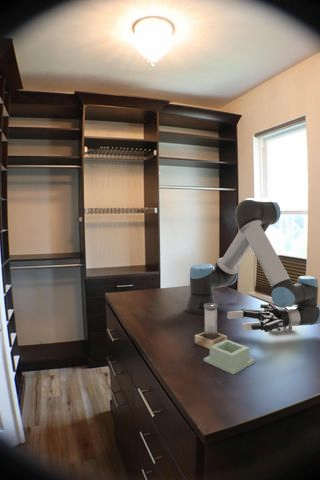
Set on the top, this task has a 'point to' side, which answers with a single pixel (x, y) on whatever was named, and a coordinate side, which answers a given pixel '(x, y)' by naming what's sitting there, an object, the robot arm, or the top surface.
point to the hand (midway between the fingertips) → (234, 320)
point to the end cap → (268, 307)
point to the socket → (229, 356)
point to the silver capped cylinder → (210, 320)
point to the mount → (206, 342)
